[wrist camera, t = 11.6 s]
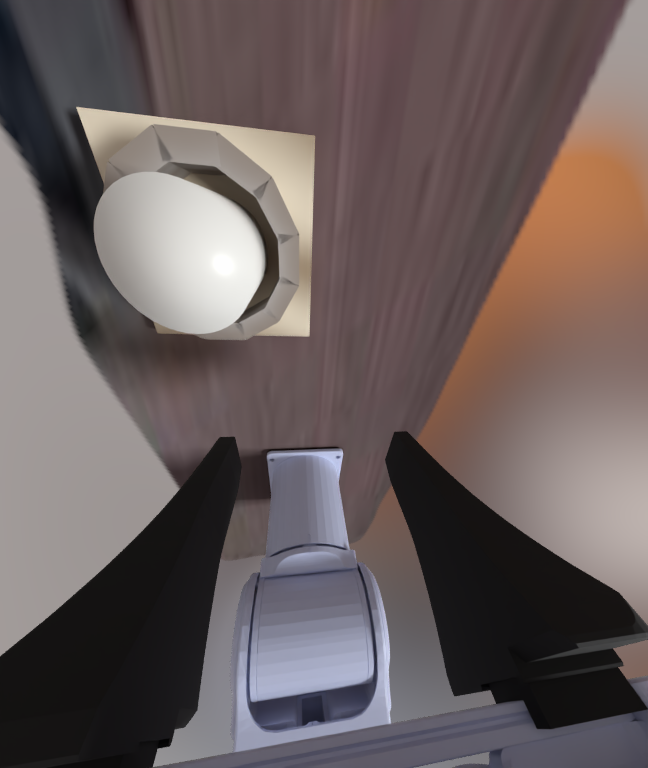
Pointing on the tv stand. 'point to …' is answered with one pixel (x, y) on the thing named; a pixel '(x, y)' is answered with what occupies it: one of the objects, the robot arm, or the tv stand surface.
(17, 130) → the tv stand surface
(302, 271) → the beige square plate
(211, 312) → the white rounded piece
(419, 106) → the tv stand surface
